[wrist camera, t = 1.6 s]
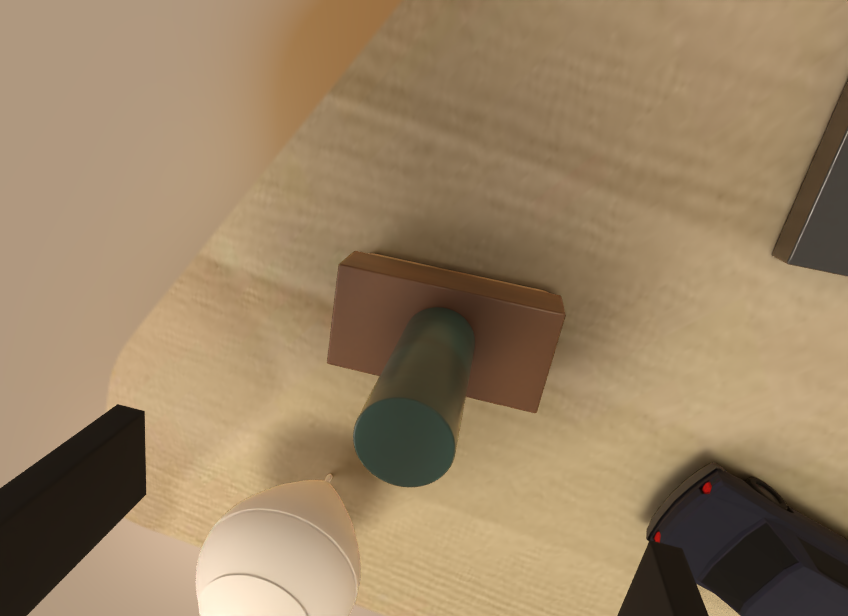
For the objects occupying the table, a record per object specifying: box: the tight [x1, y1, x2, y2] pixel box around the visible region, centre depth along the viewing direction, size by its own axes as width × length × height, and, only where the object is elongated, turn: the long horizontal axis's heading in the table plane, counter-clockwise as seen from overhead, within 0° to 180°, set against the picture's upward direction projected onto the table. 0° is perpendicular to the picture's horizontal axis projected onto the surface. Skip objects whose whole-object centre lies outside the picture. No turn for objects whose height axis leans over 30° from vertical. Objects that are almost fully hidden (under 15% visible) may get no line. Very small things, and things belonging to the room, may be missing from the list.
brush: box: [327, 251, 566, 487], centre depth 21 cm, size 10×5×12 cm, turn 80°
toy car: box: [646, 462, 848, 616], centre depth 26 cm, size 6×15×5 cm, turn 62°
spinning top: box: [196, 474, 361, 616], centre depth 26 cm, size 8×8×12 cm
